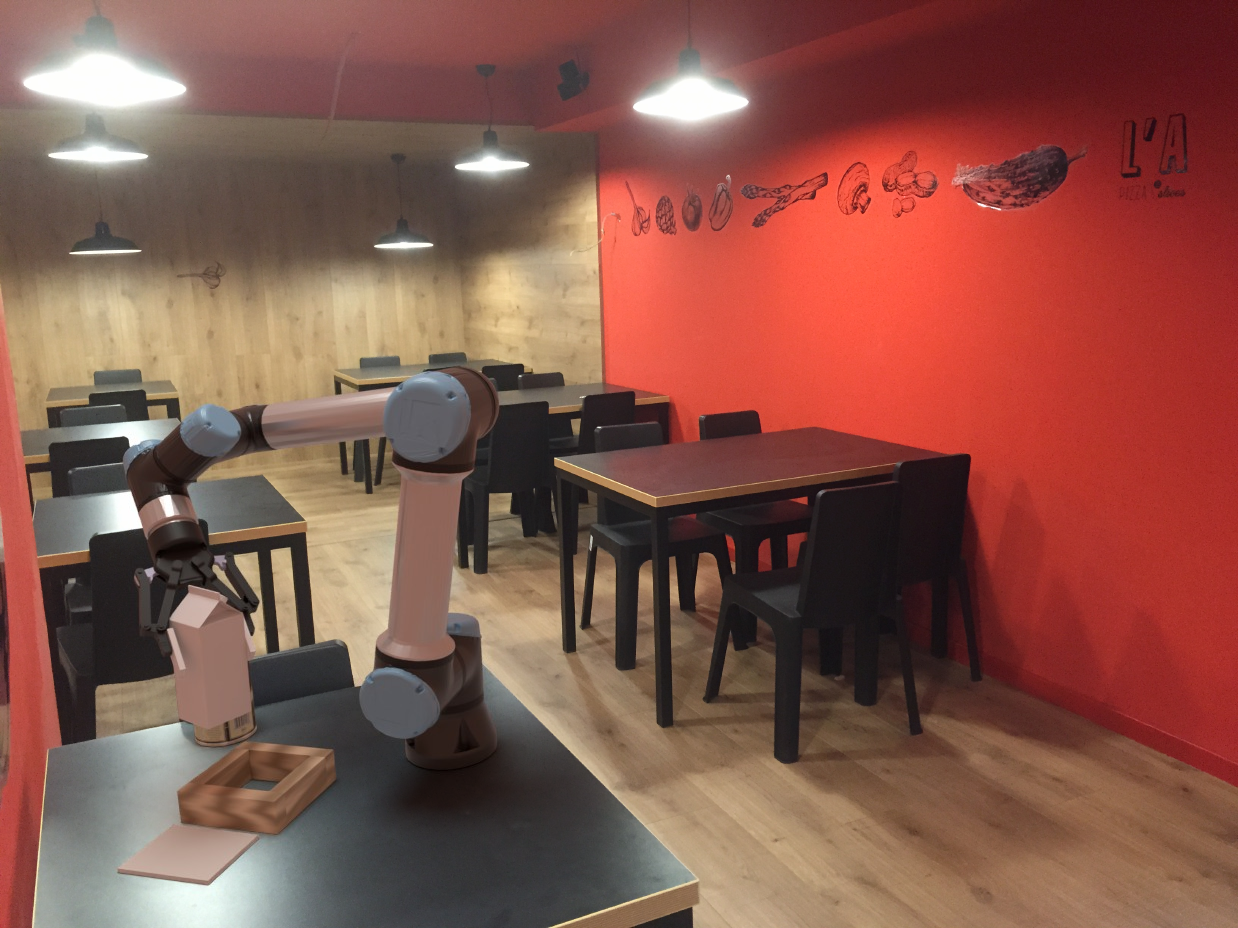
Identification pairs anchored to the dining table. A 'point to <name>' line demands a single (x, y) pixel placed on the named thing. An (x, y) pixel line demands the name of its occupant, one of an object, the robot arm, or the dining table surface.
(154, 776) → the dining table surface
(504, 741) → the dining table surface
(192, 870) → the pink mat
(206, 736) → the coffee can
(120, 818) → the dining table surface
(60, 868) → the dining table surface
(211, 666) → the milk carton
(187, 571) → the robot arm
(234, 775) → the frame
